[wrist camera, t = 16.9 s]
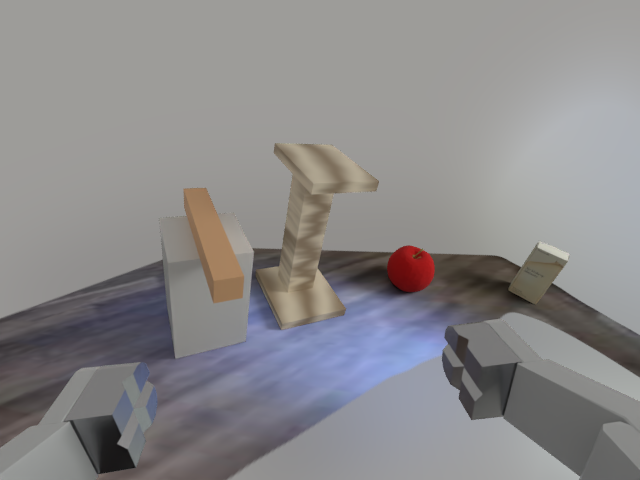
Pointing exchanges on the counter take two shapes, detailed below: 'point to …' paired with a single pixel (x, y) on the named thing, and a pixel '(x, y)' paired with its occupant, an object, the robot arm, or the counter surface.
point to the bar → (213, 247)
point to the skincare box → (538, 272)
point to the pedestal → (202, 289)
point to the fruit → (410, 269)
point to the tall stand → (309, 233)
